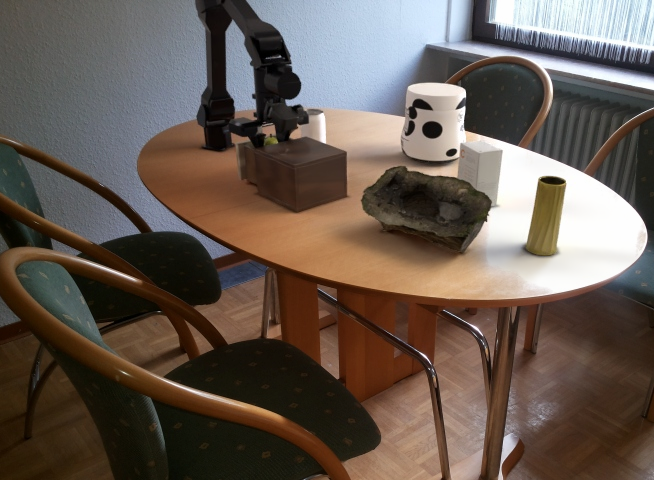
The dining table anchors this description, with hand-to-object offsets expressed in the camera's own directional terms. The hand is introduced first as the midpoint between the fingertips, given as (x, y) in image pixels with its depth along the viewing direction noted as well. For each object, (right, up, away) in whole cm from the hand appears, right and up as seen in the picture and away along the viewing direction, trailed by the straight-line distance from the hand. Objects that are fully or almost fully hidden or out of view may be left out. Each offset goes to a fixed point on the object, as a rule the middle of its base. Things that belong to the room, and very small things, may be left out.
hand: (272, 158), depth 152 cm
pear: (0, -1, +1) cm, 1 cm away
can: (+7, +5, +20) cm, 22 cm away
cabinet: (+8, -9, -4) cm, 13 cm away
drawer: (0, -4, +3) cm, 5 cm away
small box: (+48, -11, -4) cm, 49 cm away
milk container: (+39, +5, +23) cm, 45 cm away
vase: (+58, -24, -24) cm, 67 cm away
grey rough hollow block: (+35, -22, -22) cm, 47 cm away
